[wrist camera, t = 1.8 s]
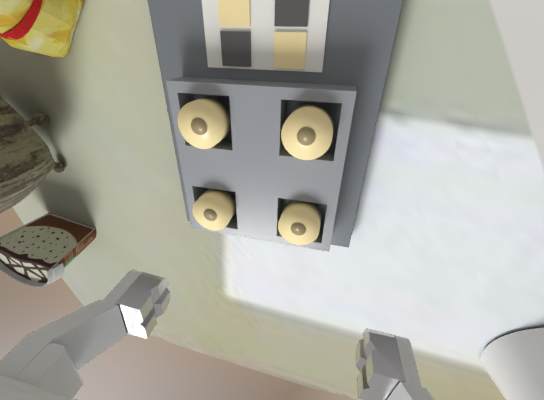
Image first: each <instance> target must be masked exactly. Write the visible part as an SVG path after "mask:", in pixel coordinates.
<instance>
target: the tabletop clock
mask: <svg viewBox="0 0 544 400" xmlns="http://www.w3.org/2000/svg"><path fill="white" fill-rule="evenodd" d="M48 122H49V119H48V117H47V116H46V115H45V114H43V113H37V114H35V115H34V117H33V120H30V121H27V122H26V121H25V120H24V118H23V117H22V116H21V115H20V114H19V113H18V112H17V111H15V110H14V109H13V108H12V107H11V106H10V105H9V104H8V103H7V102H6V101H5V100H4V99H3V98H2V97H1V96H0V214H1V213H2V212H4V211H6V210H8V209H9V208H11V207H13V206H14V205H16V204H18V203H19V202H20V201H22V200H23V199H24V198H26V197H27V196H28V195H29V194H30V193H31V192H32V191H33V190H34V189H35V187H36V186H37V185H38V184H39V183H40V182H41V181H42V180H43V179H44V178H45V176H46V175H47V174H48V173H49V172H50V171H51V170H52V171H54V172H56V173H61V172H62V171H64V168H65V166H64V165H63V164H62V163H60V162H54V159H53V157H52V155H51V152H50V150H49V148H48V146H47V145H46V143H45V142H44V141H43V139H42V138H41V137H40V136H39V135H38V134H37V133H36V132H35V131H34V129H33V128H32V127H31V126H32V125H34V124H38V125H46V124H47V123H48Z"/></svg>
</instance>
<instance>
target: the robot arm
mask: <svg viewBox="0 0 544 400" xmlns="http://www.w3.org/2000/svg"><path fill="white" fill-rule="evenodd" d="M167 286H168V279H166V278H163V277H159V276H155V275H152V274H148V273H145V272H141V271H137V270H131V271H130V272H128V273H127V274H126V275H125V277H124V278H123V279H122V280H121V281H120V282H119V283H118V284H117V285H116V286H115V287H114V289H113V290H112V291H111V292H110V293H109V294H108V295H107V296H106V297H105V298H104V300H103V301H102V300H98V301H96V302H94V303H92V304H90V305H87V306H85V307H83V308H81V309H79V310H77V311H75V312H73V313H71V314H69V315H67V316H64V317H62V318H60V319H59V320H56V321H54V322H52V323H50V324H48V325H46V326H44V327H42V328H39V329H37V330H35V331H33V332H31V333H29V334H28V335H27V336H26V337H25V338H24V339H22V340H21V341H20V342H19V343H18V344H17V345H16V346H15V347H14V348H13V349H12V350H11V351H10V352H9V353H8V354H7V355H5V356H4V357H3V358H2V359H1V360H0V400H77V399H73V397H74V396H75V394H76V393H77V392H78V390H79V389H80V387H81V386H82V385H83V380H82V378H81V376H80V375H79V373H78V371H77V370H78V369H80V368H81V367H82V366H84V365H85V364H87V363H88V362H90V361H91V360H92V359H94V358H95V357H96V356H98V355H99V354H101V353H102V352H103V351H105V350H107V349H108V348H109V347H111V346H112V345H114V344H115V343H117V342H118V341H119V340H121V339H122V338H124V337H125V336H127V334H131V335H135V336H140V337H143V338H148V336H149V335H150V333H151V332H152V330H153V329H154V327H155V326H156V324H157V319H156V318H157V317H159V316H160V315H162V314H163V313H164V311H165V310H166V308H167V306H168V303H169V301H170V291H169V290H168V289H167V288H166V287H167ZM481 364H482V366H483V368H484V370H485V371H486V372H487V373H488V375H489V376H490V377H491V379H492V380H493V381H494V383H495V384H496V386H497V387H498V389H499V390H500V392H501V393H502V395H503V397H504V398H505V400H544V327H543V328H535V329H528V330H522V331H518V332H514V333H510V334H507V335H505V336H502V337H500V338H498V339H496V340H494V341H493V342H491V343H490V344H489V345H488V346H487V347H486V348H485V349H484V350H483V352H482V354H481ZM356 367H357V368H358V370H359V371H360V373H359V375H358V377H357V389H358V398H359V399H362V400H434V398H433V397H432V396H431V394H430V393H429V392H428V390H427V389H426V388H424V387H421V383H420V379H419V375H418V371H417V367H416V363H415V359H414V355H413V351H412V347H411V343H410V341H409V339H407V338H404V337H399V336H395V335H393V334H389V333H384V332H380V331H376V330H371V329H365V330H364V332H363V339H361V340H359V343H358V345H357V350H356Z"/></svg>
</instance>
